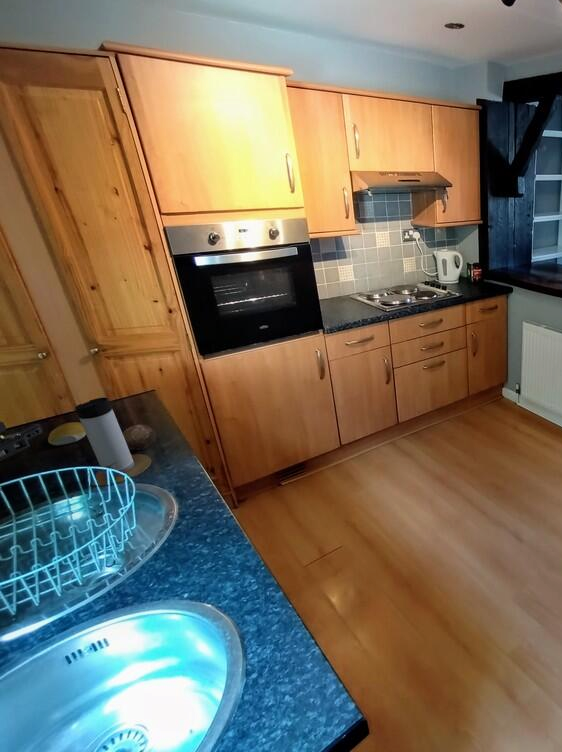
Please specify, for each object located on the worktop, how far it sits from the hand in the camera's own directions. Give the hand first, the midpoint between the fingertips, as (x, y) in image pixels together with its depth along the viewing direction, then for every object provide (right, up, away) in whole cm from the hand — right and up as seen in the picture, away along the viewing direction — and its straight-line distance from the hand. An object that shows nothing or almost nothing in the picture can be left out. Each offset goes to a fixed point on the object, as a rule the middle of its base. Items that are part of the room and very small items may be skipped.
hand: (21, 426), depth 94 cm
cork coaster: (0, -14, +23) cm, 27 cm away
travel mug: (0, -14, +23) cm, 27 cm away
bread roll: (-26, -8, +37) cm, 46 cm away
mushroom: (-2, -10, +33) cm, 35 cm away
